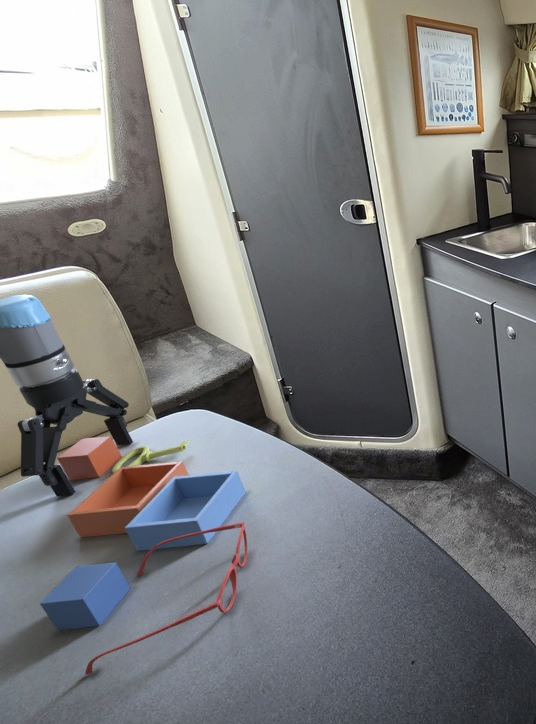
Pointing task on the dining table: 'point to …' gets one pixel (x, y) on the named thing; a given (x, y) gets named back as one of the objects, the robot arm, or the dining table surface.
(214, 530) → the red eyeglasses
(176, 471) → the terracotta bin
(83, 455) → the terracotta block
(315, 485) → the dining table surface
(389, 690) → the dining table surface
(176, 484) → the blue bin
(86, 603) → the blue block
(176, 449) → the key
